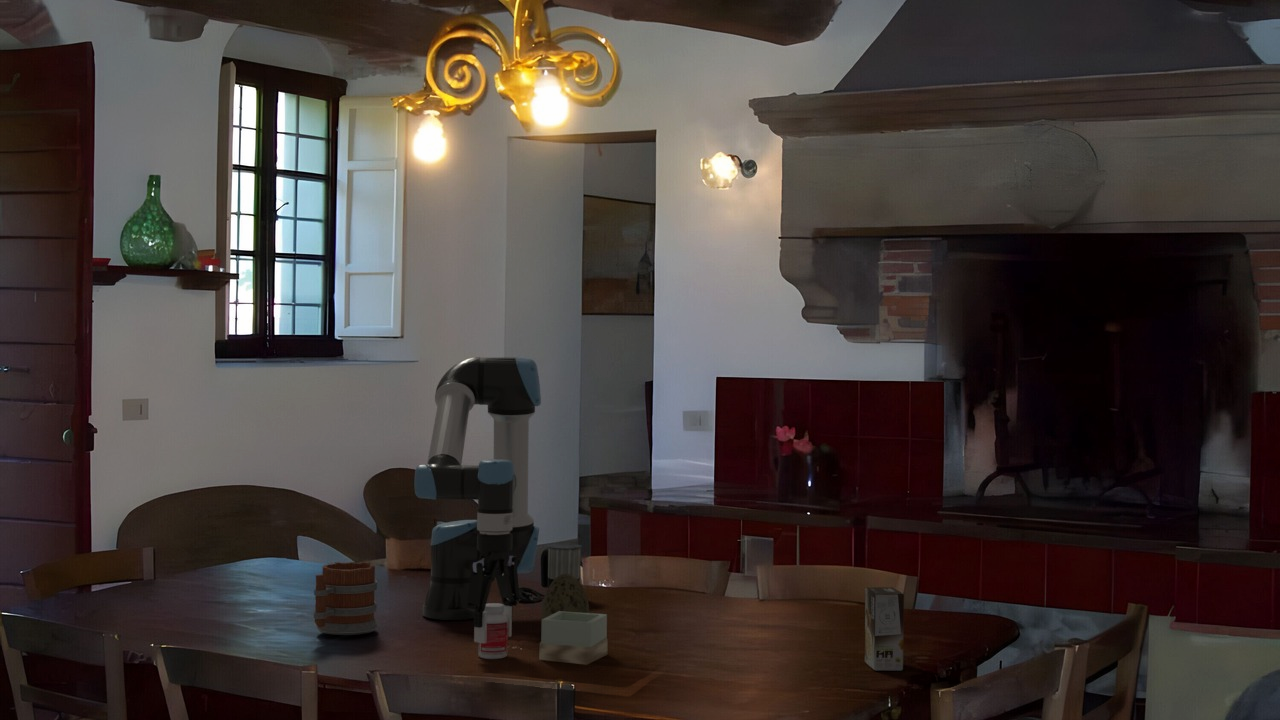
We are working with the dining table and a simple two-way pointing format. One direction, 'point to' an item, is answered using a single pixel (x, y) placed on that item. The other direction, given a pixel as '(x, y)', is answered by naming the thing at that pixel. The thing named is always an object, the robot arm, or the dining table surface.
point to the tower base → (573, 652)
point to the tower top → (574, 629)
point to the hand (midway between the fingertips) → (492, 638)
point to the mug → (346, 599)
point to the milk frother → (555, 567)
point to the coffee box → (884, 628)
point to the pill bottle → (495, 633)
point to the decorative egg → (565, 596)
